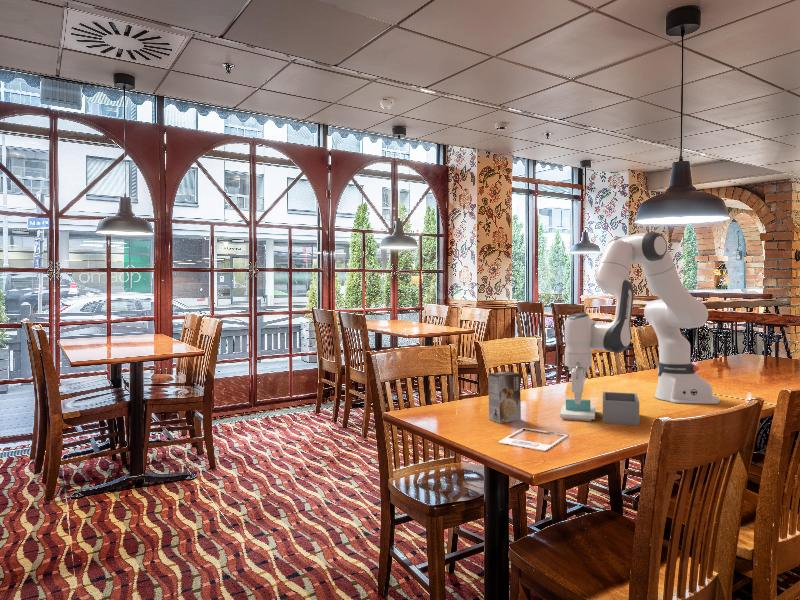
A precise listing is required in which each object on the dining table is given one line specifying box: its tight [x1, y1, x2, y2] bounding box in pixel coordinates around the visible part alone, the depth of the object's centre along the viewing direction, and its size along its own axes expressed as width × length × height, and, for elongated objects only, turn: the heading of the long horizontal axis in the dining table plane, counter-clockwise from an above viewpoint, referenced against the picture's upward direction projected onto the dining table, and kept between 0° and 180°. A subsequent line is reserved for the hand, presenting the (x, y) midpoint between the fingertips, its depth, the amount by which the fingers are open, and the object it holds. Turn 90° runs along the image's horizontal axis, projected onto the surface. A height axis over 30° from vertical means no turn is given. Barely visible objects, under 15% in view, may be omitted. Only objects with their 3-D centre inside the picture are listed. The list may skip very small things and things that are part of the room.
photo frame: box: [497, 427, 569, 452], centre depth 166 cm, size 15×1×18 cm
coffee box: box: [487, 371, 522, 424], centre depth 190 cm, size 9×6×16 cm
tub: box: [602, 391, 640, 426], centre depth 187 cm, size 11×15×8 cm
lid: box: [559, 398, 596, 422], centre depth 191 cm, size 11×15×6 cm
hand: (578, 400), depth 191 cm, fingers open, 8 cm apart
